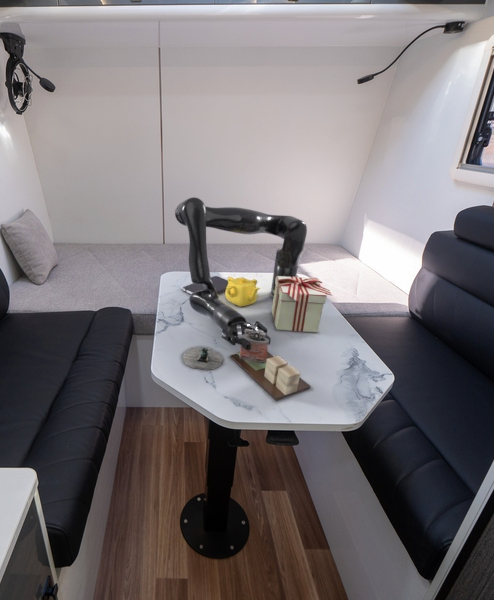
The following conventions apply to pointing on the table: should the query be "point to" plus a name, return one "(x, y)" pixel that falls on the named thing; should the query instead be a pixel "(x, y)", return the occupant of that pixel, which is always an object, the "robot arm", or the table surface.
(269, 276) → the table surface
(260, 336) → the lighter
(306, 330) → the gift box
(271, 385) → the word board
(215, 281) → the notebook
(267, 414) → the table surface
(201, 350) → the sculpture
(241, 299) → the teapot
